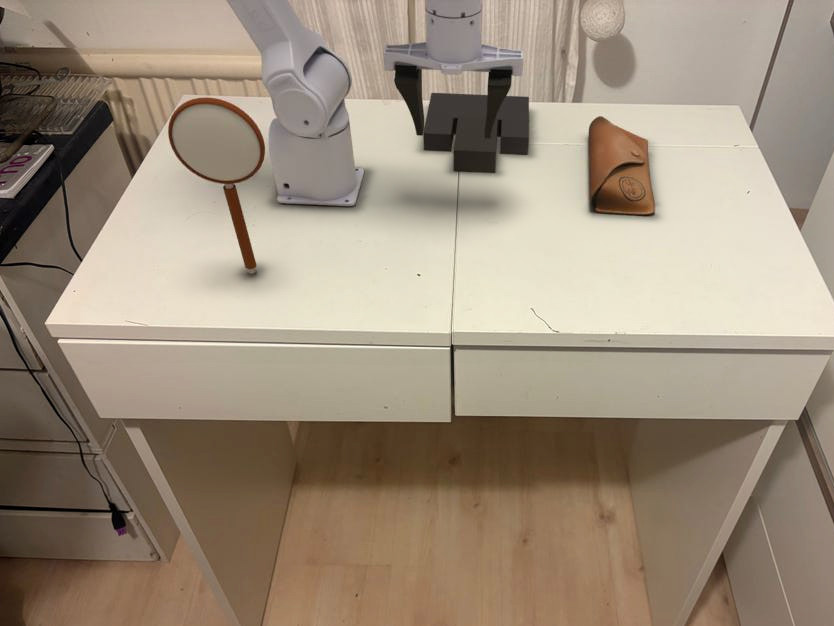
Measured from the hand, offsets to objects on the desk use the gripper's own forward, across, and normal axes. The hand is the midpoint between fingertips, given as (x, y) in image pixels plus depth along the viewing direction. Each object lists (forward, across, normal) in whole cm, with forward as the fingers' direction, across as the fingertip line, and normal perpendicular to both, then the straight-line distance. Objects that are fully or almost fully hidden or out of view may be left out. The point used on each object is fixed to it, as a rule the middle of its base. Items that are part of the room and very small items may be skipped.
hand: (454, 132), depth 81 cm
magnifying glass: (+10, -21, -15) cm, 28 cm away
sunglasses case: (+10, +21, +8) cm, 24 cm away
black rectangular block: (+9, +2, +12) cm, 15 cm away
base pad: (+9, +2, +18) cm, 20 cm away
